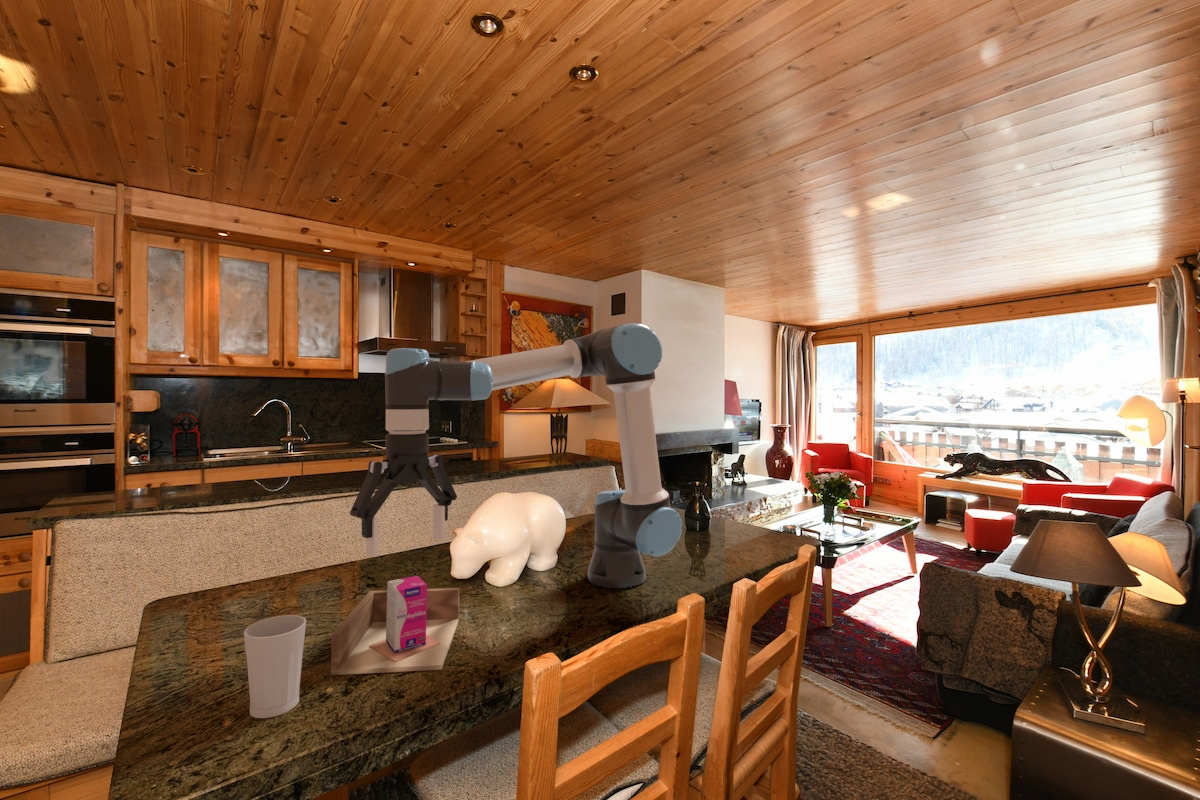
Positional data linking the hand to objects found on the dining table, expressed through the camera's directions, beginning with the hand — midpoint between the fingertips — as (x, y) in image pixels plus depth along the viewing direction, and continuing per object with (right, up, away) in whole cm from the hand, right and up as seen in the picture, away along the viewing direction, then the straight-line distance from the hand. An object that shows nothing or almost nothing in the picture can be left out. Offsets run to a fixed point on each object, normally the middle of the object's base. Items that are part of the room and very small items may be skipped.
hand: (407, 546), depth 95 cm
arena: (-2, -19, +2) cm, 19 cm away
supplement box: (0, -18, 0) cm, 18 cm away
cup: (-13, -19, -18) cm, 29 cm away
